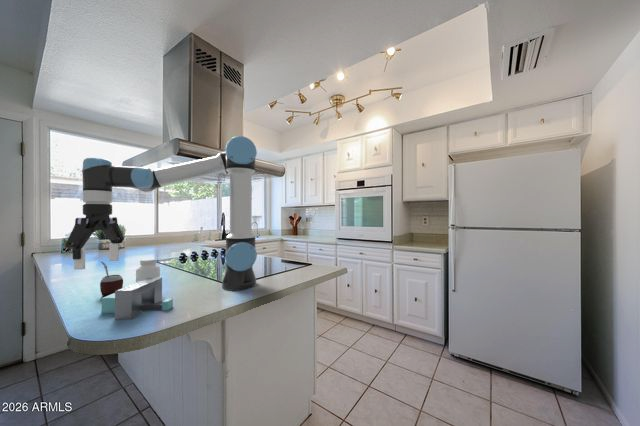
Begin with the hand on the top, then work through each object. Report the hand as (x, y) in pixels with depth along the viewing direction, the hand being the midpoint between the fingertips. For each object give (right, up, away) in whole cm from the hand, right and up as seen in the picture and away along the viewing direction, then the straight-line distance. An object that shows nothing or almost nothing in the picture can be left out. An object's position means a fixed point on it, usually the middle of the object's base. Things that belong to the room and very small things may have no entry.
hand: (98, 264), depth 83 cm
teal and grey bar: (+14, -16, +1) cm, 21 cm away
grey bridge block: (+14, -16, +1) cm, 21 cm away
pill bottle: (+7, -16, +14) cm, 23 cm away
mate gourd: (-8, -16, +14) cm, 23 cm away
